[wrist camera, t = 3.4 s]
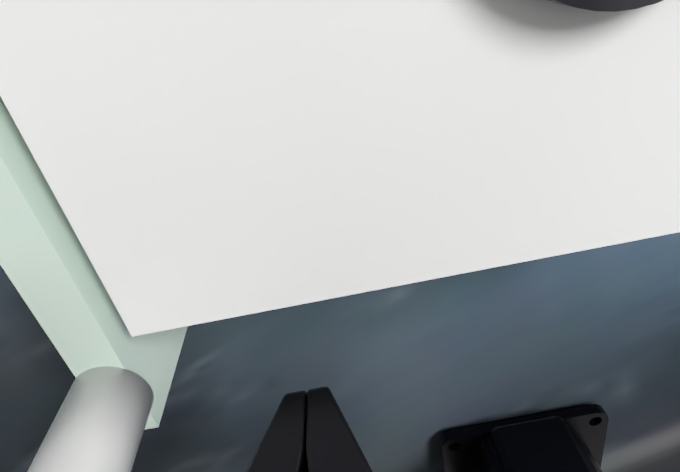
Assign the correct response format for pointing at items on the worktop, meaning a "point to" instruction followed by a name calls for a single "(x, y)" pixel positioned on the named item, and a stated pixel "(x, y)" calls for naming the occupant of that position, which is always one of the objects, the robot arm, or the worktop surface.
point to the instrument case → (341, 140)
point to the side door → (78, 326)
